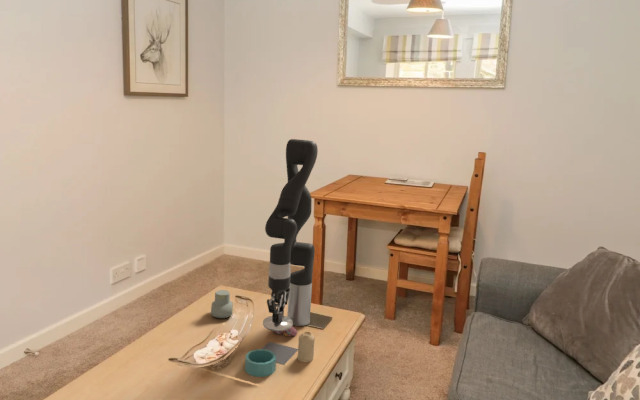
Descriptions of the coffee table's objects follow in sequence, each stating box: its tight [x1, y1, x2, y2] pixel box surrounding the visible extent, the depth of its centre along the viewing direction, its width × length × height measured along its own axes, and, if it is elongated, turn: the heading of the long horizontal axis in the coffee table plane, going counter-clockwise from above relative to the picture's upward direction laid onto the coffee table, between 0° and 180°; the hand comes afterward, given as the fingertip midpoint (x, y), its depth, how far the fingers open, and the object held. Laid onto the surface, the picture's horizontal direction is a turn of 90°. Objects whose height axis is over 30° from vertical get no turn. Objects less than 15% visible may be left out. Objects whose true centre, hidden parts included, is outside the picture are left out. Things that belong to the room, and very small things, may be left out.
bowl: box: [244, 348, 277, 378], centre depth 174 cm, size 10×10×5 cm
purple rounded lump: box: [273, 325, 298, 337], centre depth 199 cm, size 10×5×7 cm, turn 69°
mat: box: [261, 341, 298, 366], centre depth 185 cm, size 12×12×1 cm
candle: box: [297, 331, 315, 363], centre depth 181 cm, size 6×6×10 cm
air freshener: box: [210, 289, 234, 319], centre depth 212 cm, size 11×8×10 cm
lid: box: [262, 310, 294, 332], centre depth 182 cm, size 10×10×5 cm
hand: (277, 319), depth 182 cm, fingers closed on lid, 3 cm apart
